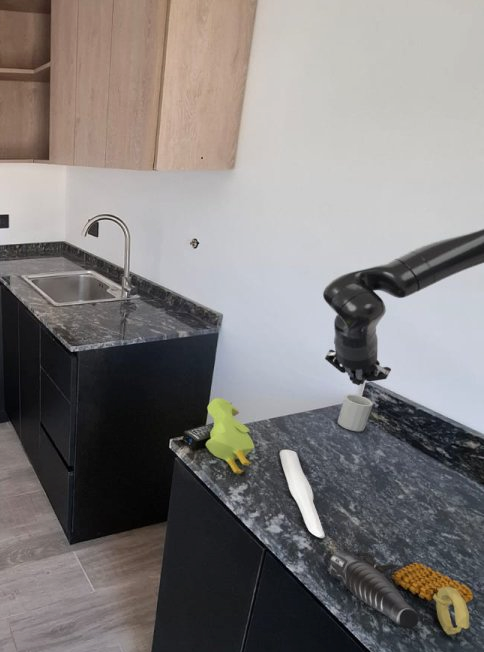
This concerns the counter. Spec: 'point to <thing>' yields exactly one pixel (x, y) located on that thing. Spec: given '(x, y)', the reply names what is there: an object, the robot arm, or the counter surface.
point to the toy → (228, 434)
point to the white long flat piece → (301, 491)
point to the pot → (354, 412)
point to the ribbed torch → (372, 585)
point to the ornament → (437, 593)
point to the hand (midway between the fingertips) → (357, 381)
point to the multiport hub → (198, 436)
